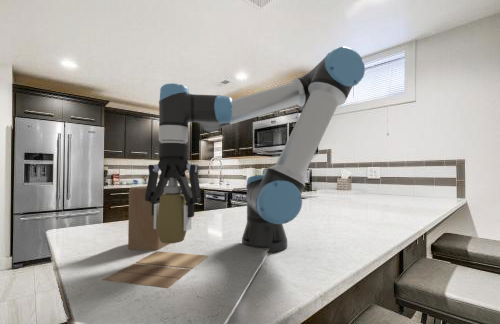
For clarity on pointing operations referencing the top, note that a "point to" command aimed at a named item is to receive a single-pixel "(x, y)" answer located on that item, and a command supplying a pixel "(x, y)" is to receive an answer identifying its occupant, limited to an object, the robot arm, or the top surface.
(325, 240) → the top surface
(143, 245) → the wooden block
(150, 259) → the plank
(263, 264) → the top surface
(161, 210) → the squeeze bottle
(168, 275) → the floorboard
